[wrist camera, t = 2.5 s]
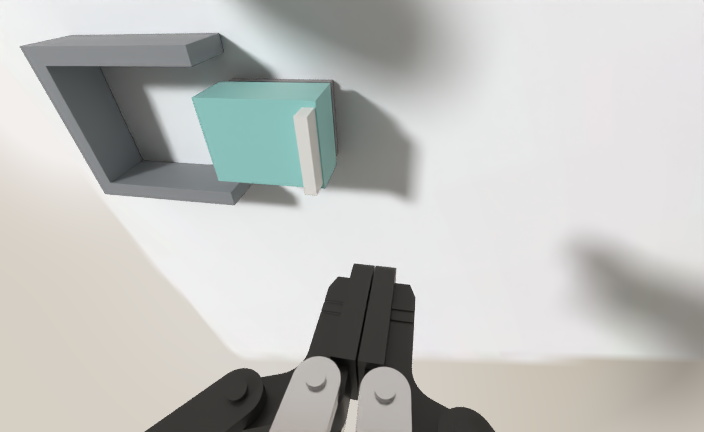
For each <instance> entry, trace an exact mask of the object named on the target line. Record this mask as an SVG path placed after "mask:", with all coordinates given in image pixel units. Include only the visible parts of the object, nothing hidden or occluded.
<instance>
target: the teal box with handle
mask: <svg viewBox="0 0 704 432" xmlns="http://www.w3.org/2000/svg"><path fill="white" fill-rule="evenodd" d="M192 101H193V104H194V107H195V110H196V113H197V116H198V119H199V122H200V125H201V128H202V131H203V134H204V137H205V140H206V143H207V146H208V150H209V153H210V156H211V159H212V162H213V165H214V168H215V171H216V174H217V177H218V180H219V181H227V182H241V183H255V184H269V185H282V186H296V187H304V192H305V195H314V196H317V194H318V192H319V190H320V188H324V189H325V187H326V185H327V183H328V181H329V179H330V177H331V175H332V173H333V171H334V169H335V166H336V164H337V162H336V156H337V154H338V144H337V130H336V116H335V103H334V89H333V80H300V79H231V80H230V81H229V82H218V83H216V84H215V85H213V86H211V87H209V88H208V89H206V90H204V91H202V92H201V93H199V94H197V95H196V96H194V97H192Z"/></svg>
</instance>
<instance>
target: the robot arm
mask: <svg viewBox="0 0 704 432" xmlns="http://www.w3.org/2000/svg"><path fill="white" fill-rule="evenodd" d="M395 281H396V268H391V267H382V266H376V267H375V266H372V265H363V264H354V265H353V268H352V272H351V276H350V278H345V277H337V279H336V280H335V281H334V282H333V283H332V284H331V285H330V287H329V289H328V292H327V295H326V298H325V302H324V304H323V308H322V312H321V314H320V317H319V320H318V323H317V326H316V330H315V333H314V336H313V339H312V342H311V345H310V349H309V352H308V354H307V356H306V358H305V359H304V361H303V362H302V363H301V364H300V365H299V366H298V367H296V368H295V369H293V370H291V371H289V372H287V373H283V374H278V375H272V376H266V377H260V375H259V374H258V373H257V372H255V371H254V370H252V369H247V368H246V369H245V368H242V369H237V370H234V371H232V372H230V373H228V374H227V375H225V376H224V377H222V378H221V379H219V380H218V381H217V382H215V383H214V384H212V385H211V386H209V387H208V388H207V389H205V390H204V391H202V392H201V393H199V394H198V395H196V396H195V397H194V398H192V399H191V400H189V401H188V402H187V403H185V404H184V405H182V406H181V407H179V408H178V409H176V410H175V411H174V412H172V413H171V414H169V415H168V416H166V417H165V418H164V419H162V420H161V421H159V422H158V423H157V424H155V425H154V426H152V427H151V428H149V429H148V430H146V431H145V432H344V428H345V424H346V418H347V412H348V407H349V402H350V399H353V400H358V396H359V402H358V413H357V423H356V432H495V431H494V430H493V428H492V427H491V426H490V424H489V423H488V422H487V421H486V420H485V419H484V418H483V417H482V416H481V415H480V414H479V413H477V412H476V411H474V410H471V409H469V408H465V407H455V408H451V409H448V408H446V407H444V406H443V405H441V404H439V403H437V402H435V401H433V400H432V399H430V398H428V397H427V396H426V395H425V394H423V393H422V392H421V390H420V389H419V388H418V387H417V385H416V383H415V381H414V379H413V375H412V351H413V332H414V312H415V296H414V293H413V291H412V289H411V287H410V285H406V284H397V283H395Z"/></svg>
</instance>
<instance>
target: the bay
mask: <svg viewBox="0 0 704 432" xmlns="http://www.w3.org/2000/svg"><path fill="white" fill-rule="evenodd" d="M20 48H21V50H22V51H23V53H24V55H25V57H26V58H27V60H28V62H29V63H30V65H31V67H32V69H33V70H34V72H35V74H36V76H37V77H38V79H39V81H40V82H41V84H42V86H43V88H44V89H45V91H46V93H47V95H48V96H49V98H50V100H51V101H52V103H53V105H54V107H55V108H56V110H57V112H58V113H59V115H60V117H61V119H62V120H63V122H64V124H65V126H66V127H67V129H68V131H69V132H70V134H71V136H72V138H73V139H74V141H75V143H76V145H77V146H78V148H79V150H80V151H81V153H82V155H83V157H84V158H85V160H86V162H87V164H88V165H89V167H90V169H91V170H92V172H93V174H94V176H95V177H96V179H97V181H98V183H99V184H100V186H101V188H102V189H103V191H104V193H105V194H110V195H122V196H133V197H145V198H157V199H168V200H180V201H191V202H203V203H215V204H226V205H235V204H236V203H237V202H238V200H239V199H240V198H241V197H242V196H243V194H244V193H245V192H246V191H247V189H248V188H249V187H250V186H251V184H252V183H241V182H227V181H219V180H218V177H217V174H216V171H215V168H214V165H204V164H189V163H173V162H157V161H143V160H142V158H141V156H140V154H139V151H138V149H137V147H136V145H135V143H134V141H133V138H132V136H131V134H130V132H129V130H128V128H127V126H126V123H125V121H124V119H123V117H122V115H121V113H120V111H119V108H118V106H117V104H116V102H115V100H114V98H113V95H112V93H111V91H110V89H109V87H108V85H107V83H106V80H105V78H104V76H103V74H102V72H101V70H100V68H99V66H160V67H192V66H194V65H197V64H199V63H201V62H203V61H205V60H208V59H210V58H212V57H214V56H217V55H219V54H221V53H223V52H224V51H223V47H222V43H221V39H220V35H219V33H192V34H124V35H70V36H65V37H61V38H56V39H51V40H47V41H42V42H37V43H33V44H28V45H23V46H20Z"/></svg>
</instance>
